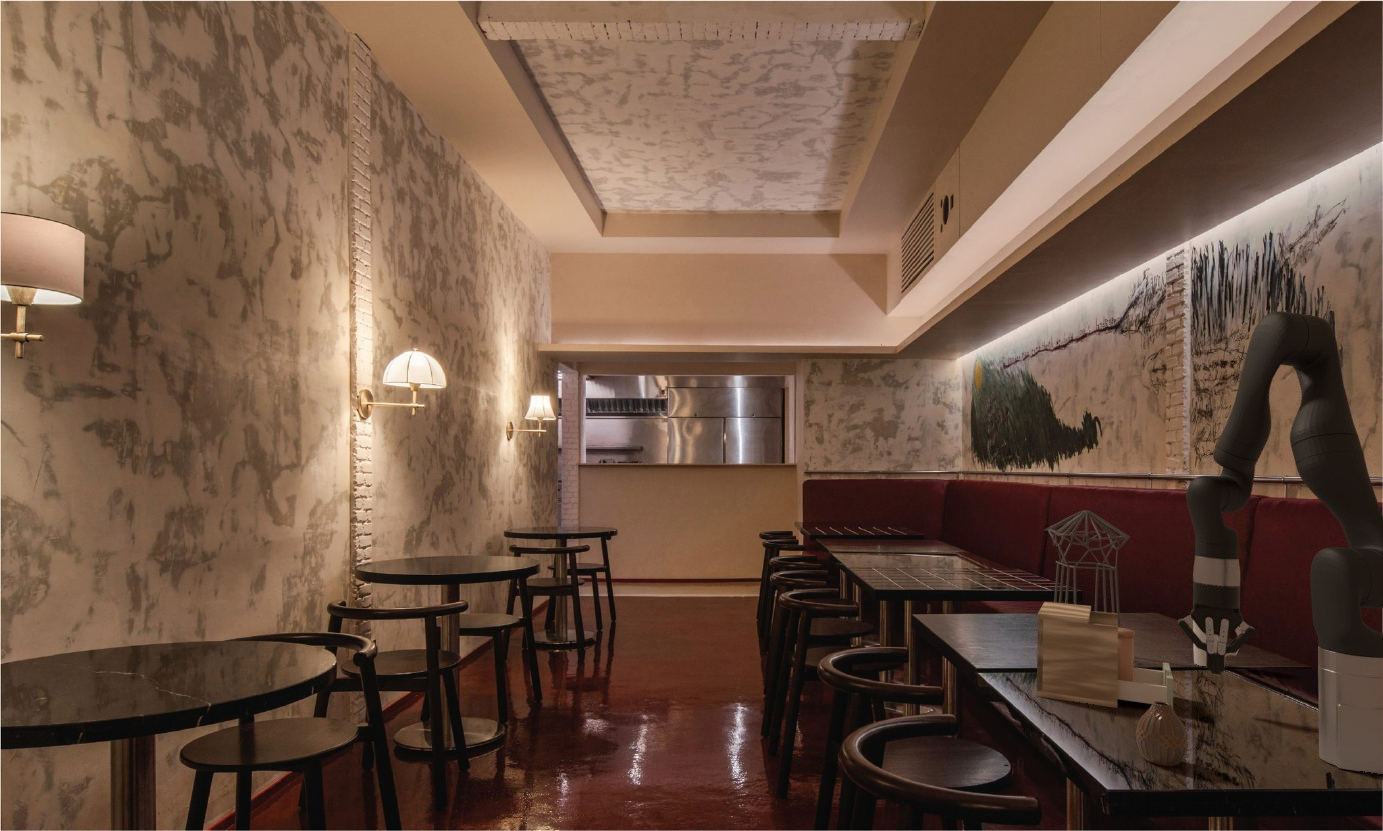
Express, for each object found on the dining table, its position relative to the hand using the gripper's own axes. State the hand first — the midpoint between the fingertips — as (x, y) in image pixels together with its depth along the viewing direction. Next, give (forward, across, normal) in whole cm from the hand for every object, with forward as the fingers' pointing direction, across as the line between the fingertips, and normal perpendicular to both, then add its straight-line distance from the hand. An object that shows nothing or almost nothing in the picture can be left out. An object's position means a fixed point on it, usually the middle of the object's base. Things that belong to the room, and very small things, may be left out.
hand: (1215, 673), depth 159 cm
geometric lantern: (+8, -24, +38) cm, 46 cm away
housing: (+7, -24, -1) cm, 25 cm away
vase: (+6, -10, -40) cm, 41 cm away
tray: (+7, -14, -1) cm, 15 cm away
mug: (+8, +4, +45) cm, 46 cm away
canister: (+5, -16, -1) cm, 17 cm away
